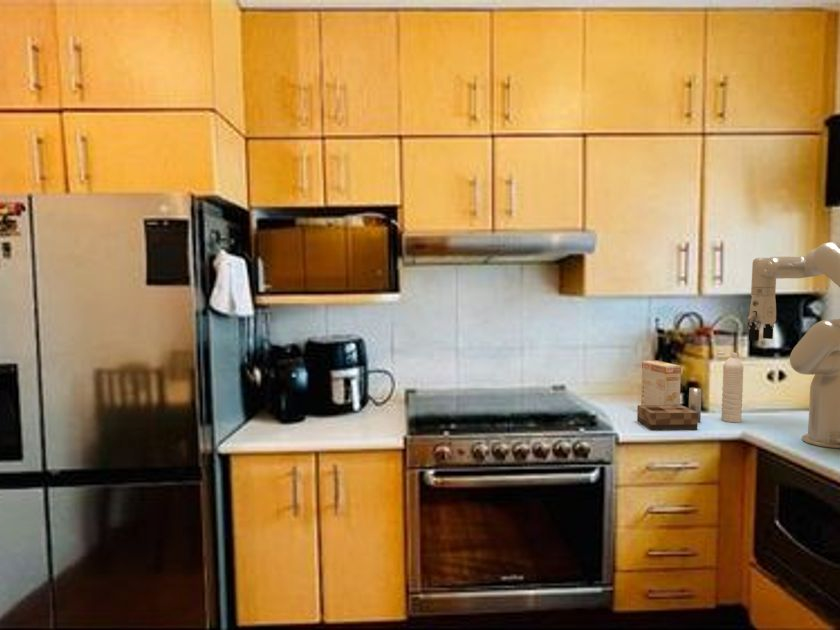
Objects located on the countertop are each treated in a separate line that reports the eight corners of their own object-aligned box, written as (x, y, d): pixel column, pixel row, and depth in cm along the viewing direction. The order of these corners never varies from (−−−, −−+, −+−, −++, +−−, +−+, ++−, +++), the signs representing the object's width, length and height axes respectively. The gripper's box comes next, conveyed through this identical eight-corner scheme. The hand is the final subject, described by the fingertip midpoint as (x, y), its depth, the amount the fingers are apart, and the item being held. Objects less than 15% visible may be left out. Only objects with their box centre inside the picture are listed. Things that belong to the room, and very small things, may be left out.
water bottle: (738, 418, 213) (740, 351, 211) (743, 423, 207) (746, 354, 205) (712, 417, 215) (714, 351, 213) (717, 421, 209) (719, 353, 207)
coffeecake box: (680, 417, 216) (681, 365, 215) (663, 418, 214) (664, 366, 213) (656, 408, 230) (657, 359, 229) (640, 409, 229) (641, 360, 228)
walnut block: (697, 430, 198) (697, 412, 197) (651, 430, 197) (651, 413, 197) (680, 421, 209) (681, 405, 209) (637, 421, 209) (637, 405, 209)
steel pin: (702, 422, 208) (703, 389, 207) (691, 422, 208) (692, 389, 207) (696, 419, 212) (698, 387, 211) (686, 419, 212) (687, 387, 211)
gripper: (761, 293, 199) (758, 342, 200) (786, 292, 208) (783, 339, 210) (739, 292, 205) (737, 340, 207) (764, 291, 215) (762, 337, 216)
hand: (760, 339), depth 208 cm, fingers open, 9 cm apart
